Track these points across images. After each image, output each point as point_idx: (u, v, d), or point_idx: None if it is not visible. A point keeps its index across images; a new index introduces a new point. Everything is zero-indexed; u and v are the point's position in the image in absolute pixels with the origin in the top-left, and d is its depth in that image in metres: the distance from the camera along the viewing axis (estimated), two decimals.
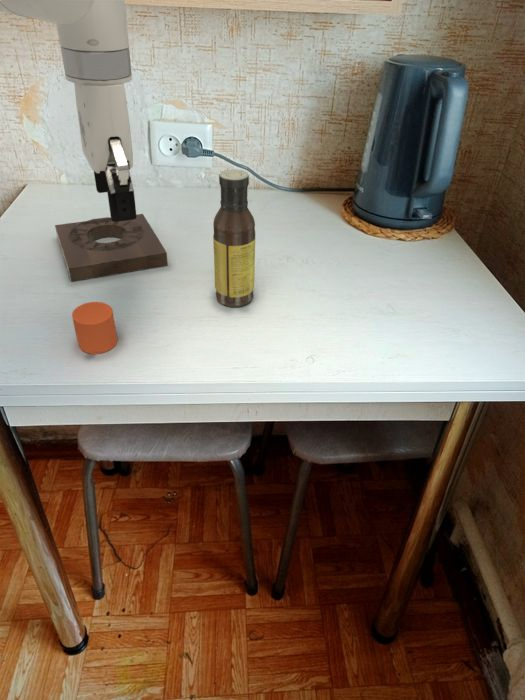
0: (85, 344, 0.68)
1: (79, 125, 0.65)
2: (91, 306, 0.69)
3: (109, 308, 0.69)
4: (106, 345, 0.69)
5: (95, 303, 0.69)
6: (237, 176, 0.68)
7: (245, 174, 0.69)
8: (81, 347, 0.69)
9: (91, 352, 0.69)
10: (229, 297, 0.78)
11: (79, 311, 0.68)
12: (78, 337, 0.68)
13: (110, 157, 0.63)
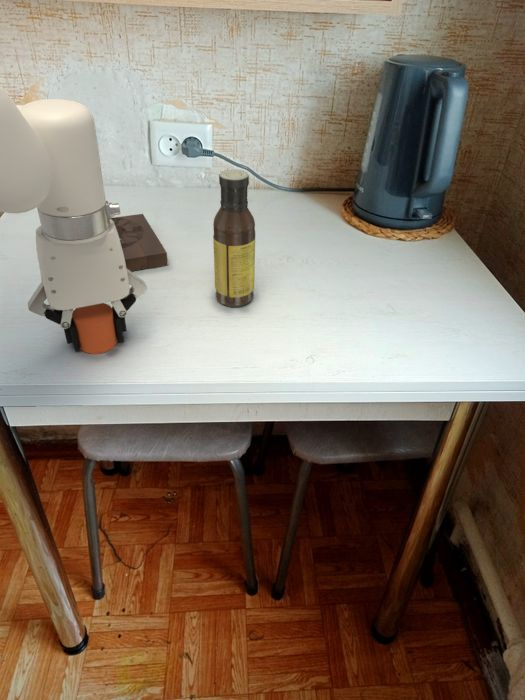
0: (85, 344, 0.68)
1: None
2: (91, 306, 0.69)
3: (109, 308, 0.69)
4: (106, 345, 0.69)
5: None
6: (237, 176, 0.68)
7: (245, 174, 0.69)
8: (81, 347, 0.69)
9: (91, 352, 0.69)
10: (229, 297, 0.78)
11: (79, 311, 0.68)
12: (78, 337, 0.68)
13: None
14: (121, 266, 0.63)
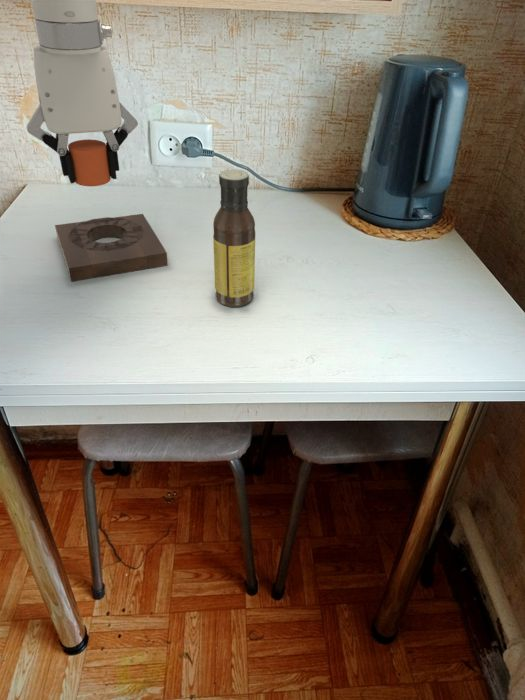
0: (80, 175, 0.73)
1: None
2: (86, 141, 0.74)
3: (103, 143, 0.73)
4: (99, 177, 0.74)
5: (90, 140, 0.74)
6: (237, 176, 0.68)
7: (245, 174, 0.69)
8: (77, 180, 0.74)
9: (86, 184, 0.74)
10: (229, 297, 0.78)
11: (75, 144, 0.73)
12: (74, 169, 0.73)
13: None
14: (113, 91, 0.68)
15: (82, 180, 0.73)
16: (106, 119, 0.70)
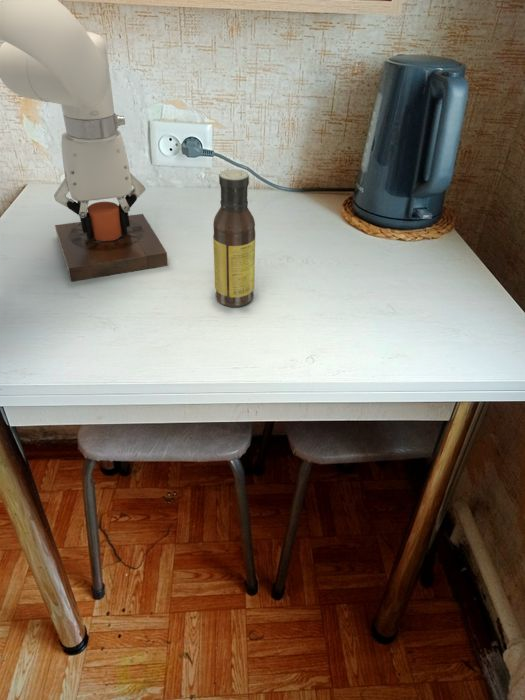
0: (97, 233, 0.88)
1: None
2: (102, 204, 0.88)
3: (116, 205, 0.88)
4: (113, 234, 0.88)
5: (105, 202, 0.89)
6: (237, 176, 0.68)
7: (245, 174, 0.69)
8: (94, 236, 0.88)
9: (102, 239, 0.88)
10: (229, 297, 0.78)
11: (93, 206, 0.87)
12: (92, 227, 0.88)
13: None
14: (125, 166, 0.83)
15: (99, 236, 0.88)
16: (119, 188, 0.84)
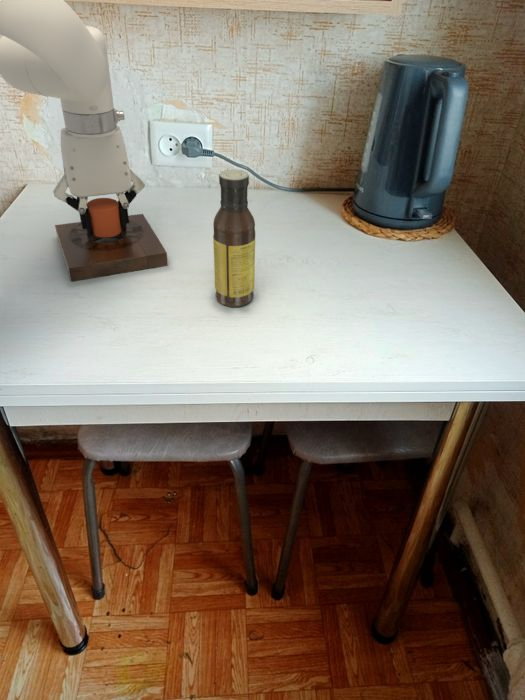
0: (97, 229, 0.87)
1: None
2: (101, 200, 0.88)
3: (115, 201, 0.88)
4: (113, 230, 0.88)
5: (104, 198, 0.88)
6: (237, 176, 0.68)
7: (245, 174, 0.69)
8: (93, 232, 0.88)
9: (101, 236, 0.88)
10: (229, 297, 0.78)
11: (92, 202, 0.87)
12: (91, 223, 0.87)
13: None
14: (125, 162, 0.82)
15: (98, 232, 0.87)
16: (119, 184, 0.84)
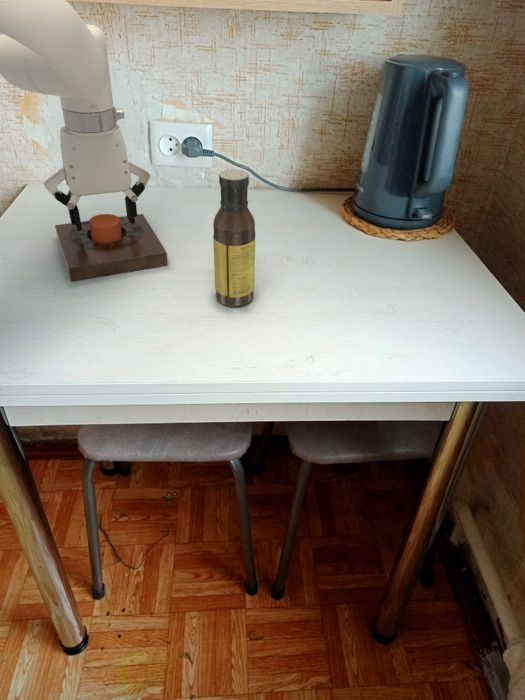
0: None
1: None
2: (103, 216, 0.90)
3: (117, 218, 0.89)
4: None
5: (106, 214, 0.90)
6: (237, 176, 0.68)
7: (245, 174, 0.69)
8: None
9: None
10: (229, 297, 0.78)
11: (94, 219, 0.89)
12: (93, 239, 0.89)
13: None
14: (125, 161, 0.82)
15: None
16: (119, 183, 0.84)
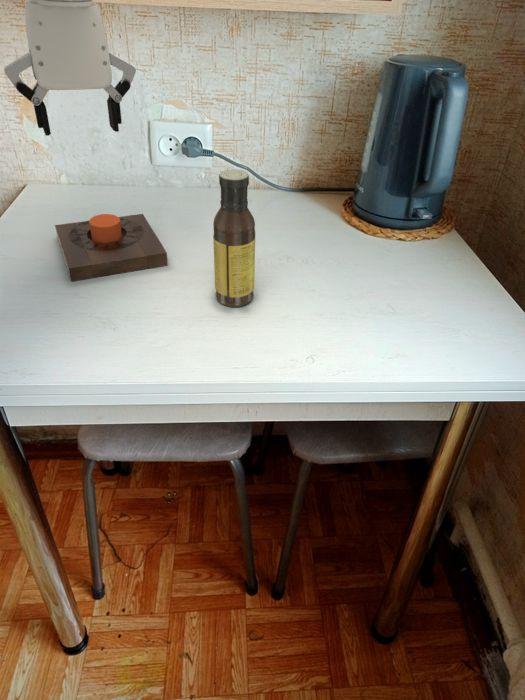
0: None
1: None
2: (103, 216, 0.90)
3: (117, 218, 0.89)
4: None
5: (106, 214, 0.90)
6: (237, 176, 0.68)
7: (245, 174, 0.69)
8: None
9: None
10: (229, 297, 0.78)
11: (94, 219, 0.89)
12: (93, 239, 0.89)
13: None
14: (103, 47, 0.69)
15: None
16: (97, 76, 0.70)
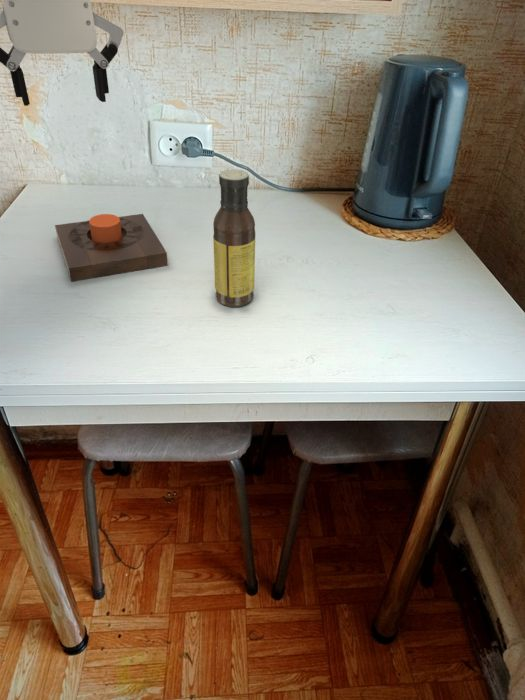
0: None
1: None
2: (103, 216, 0.90)
3: (117, 218, 0.89)
4: None
5: (106, 214, 0.90)
6: (237, 176, 0.68)
7: (245, 174, 0.69)
8: None
9: None
10: (229, 297, 0.78)
11: (94, 219, 0.89)
12: (93, 239, 0.89)
13: None
14: (86, 4, 0.61)
15: None
16: (79, 38, 0.63)
